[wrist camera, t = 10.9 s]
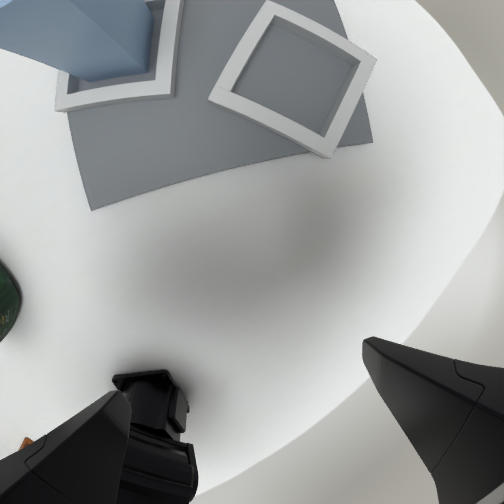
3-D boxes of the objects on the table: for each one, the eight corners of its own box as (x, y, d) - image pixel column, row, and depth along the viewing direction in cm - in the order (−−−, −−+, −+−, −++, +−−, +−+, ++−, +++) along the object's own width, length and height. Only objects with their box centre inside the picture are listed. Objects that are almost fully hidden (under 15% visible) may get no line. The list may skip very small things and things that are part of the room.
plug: (148, 73, 15) (47, -17, 3) (90, 82, 15) (-41, 37, 3) (155, 11, 13) (95, -103, 1) (99, 22, 13) (4, -57, 1)
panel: (96, 216, 19) (82, 224, 17) (62, 32, 13) (48, 23, 11) (379, 148, 19) (396, 149, 17) (326, -29, 13) (336, -42, 11)
